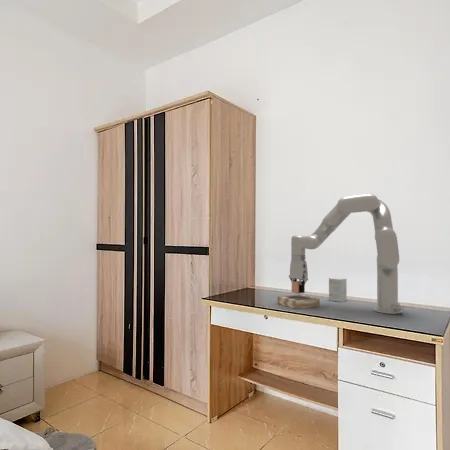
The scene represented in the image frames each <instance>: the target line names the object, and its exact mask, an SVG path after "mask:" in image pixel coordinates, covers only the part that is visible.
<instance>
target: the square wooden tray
mask: <svg viewBox="0 0 450 450" xmlns="http://www.w3.org/2000/svg"><path fill="white" fill-rule="evenodd" d="M277 305H281V306H284V307H288V308H290V309H294V310H300V309H309V308H310V309H311V308H316V307H317V308H318V307H320V305H321V304H320V298H318V297H313V296H310V295H309V296H308V295H305V294H302V293H300V294H290V295H281V296H279V295H278V296H277Z"/></svg>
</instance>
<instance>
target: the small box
mask: <svg viewBox="0 0 450 450" xmlns="http://www.w3.org/2000/svg"><path fill="white" fill-rule="evenodd" d="M347 285H348V284H347V278H342V277H330V278H329V277H328V301H332V302H333V301H334V302H338V303H344V302H346V301H347V300H348V299H347V293H348V292H347Z"/></svg>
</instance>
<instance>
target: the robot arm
mask: <svg viewBox="0 0 450 450" xmlns="http://www.w3.org/2000/svg"><path fill="white" fill-rule="evenodd" d="M363 212H364V213H365V212H366V213H370V214H371V217H372V220H373V225H374V226H373V227H374V240H375V244H376V245H375V246H376V253H377V255H376V284H377V285H376V292H377V293H376V296H377V297H376V303H377V305H376V306H375V307H374V308H373V311H375V312H376V313H381V314H386V315H387V314H388V315H389V314H390V315H396V314H397V315H398V314H401V313H402V312H404V311H405V307H404V306H401V303H399V293H398V292H399V288H398V287H399V284H398V283H399V282H398V281H399V276H398V275H399V272H398V271H399V269H398V265H399V263H400V253H399V251H400V250H399V242H398V236H397V234H396V231H395V230H394V228H393V221H392V214H391V211H390V208H389V207H388V205H387V204H386V203H385V202H384V201H382V200H381V199H379V198H378V197H377V196H376V195H375V194H373V193H372V194H371V193H368V194H359V195H358V194H357V195H351V196H349V195H348V196H343V197H341V198H340V199H338V201H337V204H335V206H333V208H332V209H331V210H330V211H329V212H328V213H327V214H326V215H325V216H324V218H323V219H322V221H321V223H320V225H319V226H318V227H317V228H316V229H315V231H313V233H312V234H310V235H293V236H291V242H290V243H291V244H290V245H291V246H290V247H291V252H290V253H291V254H290V255H291V259H290V264H289V265H290V266H289V275H288V279H290V282H291V284H292V281H299V282H300V285H299V292H304V285H305V286H306V283H307V281H309V278H308V263H307V261H306V259H307V257H306V250H316V249H318V248H319V247H320V246H321V245H322V244H323V243H324V242H325V241H326V240H327V238H329V237H330V235H332V234H333V233H334V232H335V231H336V229H338V228H339V226H340V225H341V224H342V223H343V222H344V221H345V220H346V219H347V218H348V217H349V216H350V215H351V214H353V213H363Z"/></svg>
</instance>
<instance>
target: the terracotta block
mask: <svg viewBox="0 0 450 450" xmlns="http://www.w3.org/2000/svg"><path fill="white" fill-rule="evenodd" d="M299 285H300V282H299V280H297V281H292V283H291V293H292V294H295V295H298V294H306V293H305V292H306V291H305V289H306V287H305V286H306V284H305V285H304V292H299Z"/></svg>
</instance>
